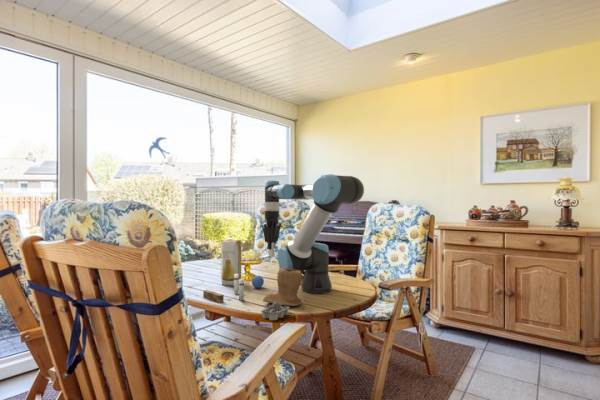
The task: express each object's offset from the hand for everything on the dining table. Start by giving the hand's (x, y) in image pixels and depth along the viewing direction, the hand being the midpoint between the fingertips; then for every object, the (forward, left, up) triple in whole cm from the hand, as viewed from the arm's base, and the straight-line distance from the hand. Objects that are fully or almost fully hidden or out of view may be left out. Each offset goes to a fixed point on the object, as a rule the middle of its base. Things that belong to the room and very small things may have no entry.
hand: (271, 255), depth 174 cm
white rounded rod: (-10, +29, -15) cm, 34 cm away
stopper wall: (0, +36, -15) cm, 39 cm away
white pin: (-1, +24, -15) cm, 28 cm away
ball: (0, +10, -12) cm, 15 cm away
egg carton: (-35, +32, -16) cm, 50 cm away
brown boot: (-27, +19, -15) cm, 37 cm away
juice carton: (+16, +14, -15) cm, 26 cm away
